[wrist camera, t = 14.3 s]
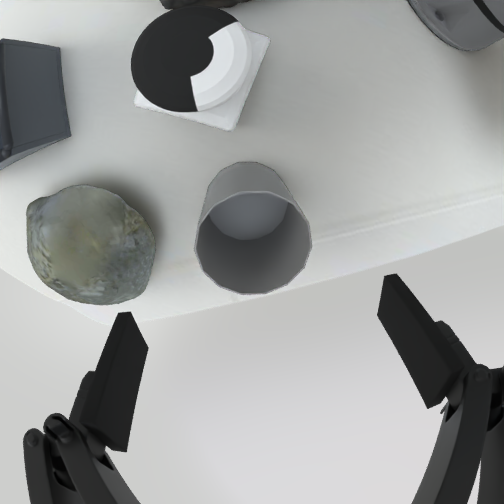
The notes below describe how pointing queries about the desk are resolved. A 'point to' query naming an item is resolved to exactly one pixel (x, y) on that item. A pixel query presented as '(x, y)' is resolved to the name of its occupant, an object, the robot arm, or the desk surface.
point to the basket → (30, 99)
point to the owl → (200, 3)
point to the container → (197, 65)
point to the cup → (251, 231)
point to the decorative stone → (89, 245)
